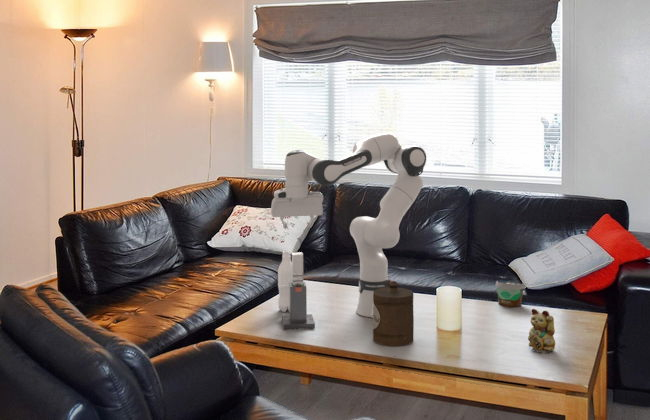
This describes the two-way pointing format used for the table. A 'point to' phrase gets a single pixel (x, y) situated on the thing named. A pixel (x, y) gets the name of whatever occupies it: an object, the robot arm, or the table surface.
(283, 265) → the water bottle
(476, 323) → the table surface
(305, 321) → the stand
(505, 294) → the food container
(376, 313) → the wooden container
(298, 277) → the column
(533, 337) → the decorative figurine
